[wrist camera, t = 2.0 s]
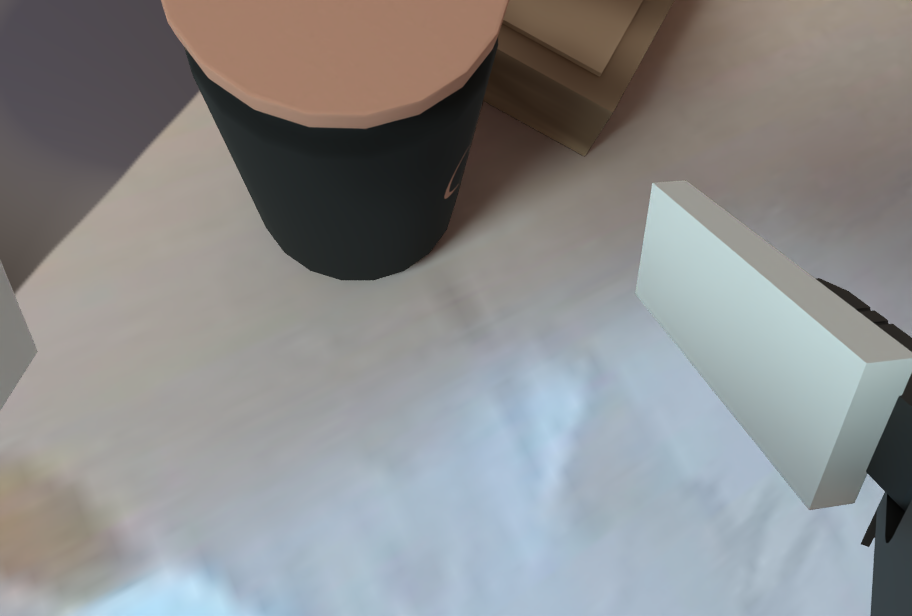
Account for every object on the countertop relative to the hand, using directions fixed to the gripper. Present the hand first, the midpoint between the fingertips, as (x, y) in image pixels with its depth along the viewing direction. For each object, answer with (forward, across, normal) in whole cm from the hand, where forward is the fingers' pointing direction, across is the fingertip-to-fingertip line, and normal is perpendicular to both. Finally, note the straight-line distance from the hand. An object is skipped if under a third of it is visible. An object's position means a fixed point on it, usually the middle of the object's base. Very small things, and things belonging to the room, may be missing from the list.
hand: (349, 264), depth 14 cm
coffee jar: (+23, +1, -8) cm, 24 cm away
